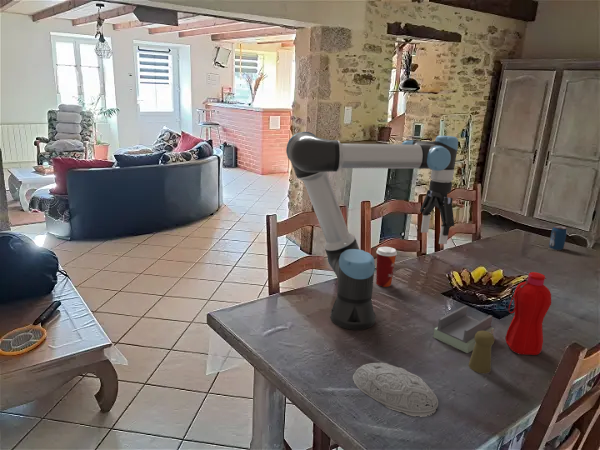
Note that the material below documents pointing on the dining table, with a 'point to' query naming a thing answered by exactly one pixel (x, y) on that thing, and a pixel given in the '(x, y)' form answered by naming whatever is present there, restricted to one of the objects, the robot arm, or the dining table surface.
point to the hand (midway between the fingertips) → (433, 237)
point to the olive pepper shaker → (482, 352)
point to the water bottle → (529, 315)
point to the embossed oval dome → (396, 389)
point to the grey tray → (461, 329)
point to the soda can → (558, 237)
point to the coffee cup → (385, 265)
